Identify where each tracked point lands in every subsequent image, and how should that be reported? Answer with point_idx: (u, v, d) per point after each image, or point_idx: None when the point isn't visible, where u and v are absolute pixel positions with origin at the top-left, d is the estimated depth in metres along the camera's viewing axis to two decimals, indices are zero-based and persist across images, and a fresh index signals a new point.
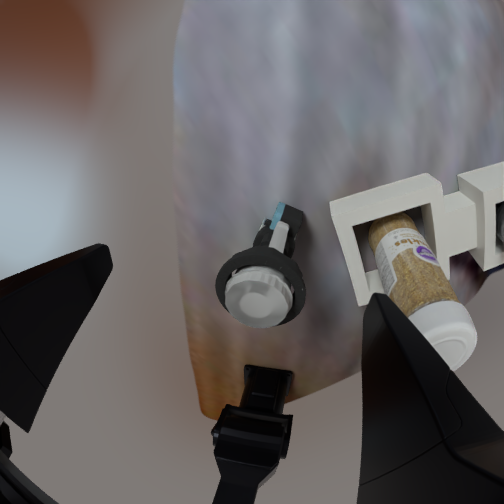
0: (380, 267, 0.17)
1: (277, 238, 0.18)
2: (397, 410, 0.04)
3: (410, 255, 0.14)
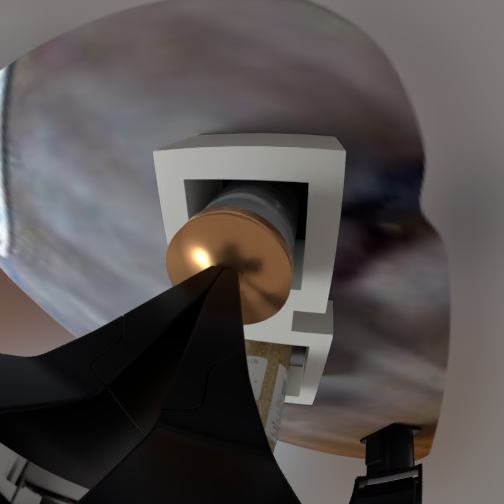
0: None
1: None
2: None
3: None
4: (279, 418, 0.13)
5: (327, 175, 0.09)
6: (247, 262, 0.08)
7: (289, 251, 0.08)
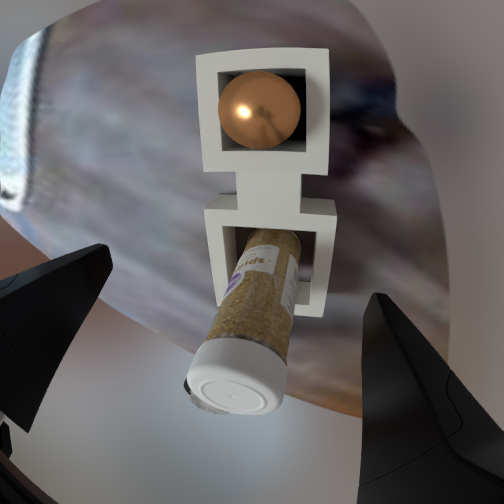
0: None
1: None
2: (397, 410, 0.04)
3: None
4: (294, 298, 0.16)
5: (317, 64, 0.11)
6: (272, 96, 0.11)
7: (297, 95, 0.11)
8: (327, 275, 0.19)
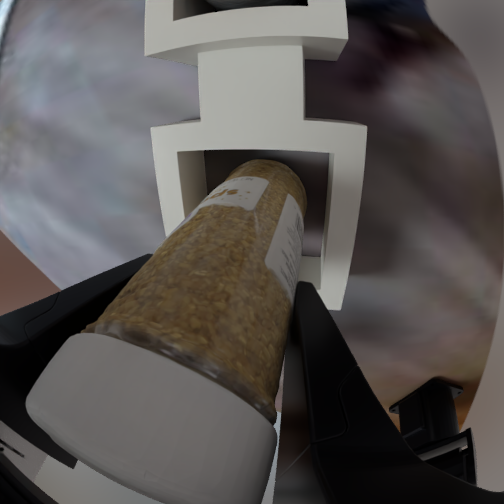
0: None
1: None
2: (294, 403, 0.05)
3: None
4: (296, 262, 0.08)
5: None
6: None
7: None
8: (352, 236, 0.11)
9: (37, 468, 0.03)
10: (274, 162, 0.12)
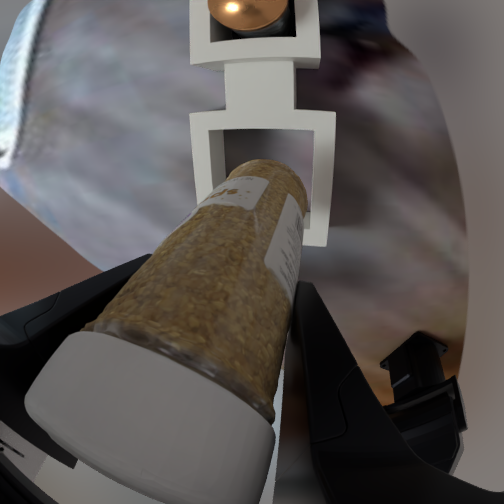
0: None
1: None
2: (294, 403, 0.05)
3: None
4: (296, 262, 0.08)
5: None
6: None
7: None
8: (329, 186, 0.16)
9: (37, 469, 0.03)
10: (274, 162, 0.12)
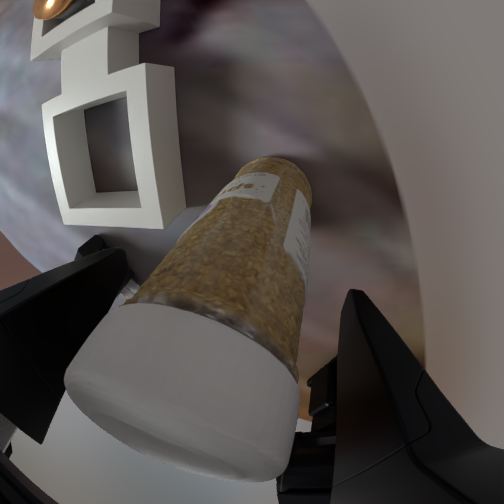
0: None
1: None
2: (366, 410, 0.04)
3: None
4: (307, 250, 0.08)
5: None
6: None
7: None
8: (149, 152, 0.12)
9: (7, 440, 0.04)
10: (282, 160, 0.13)
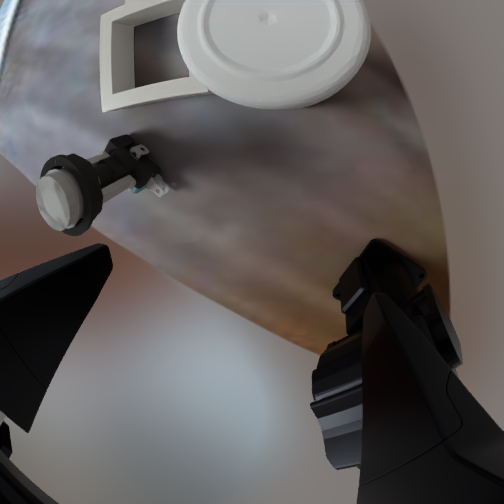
0: None
1: None
2: (397, 410, 0.04)
3: None
4: None
5: None
6: None
7: None
8: None
9: None
10: None
